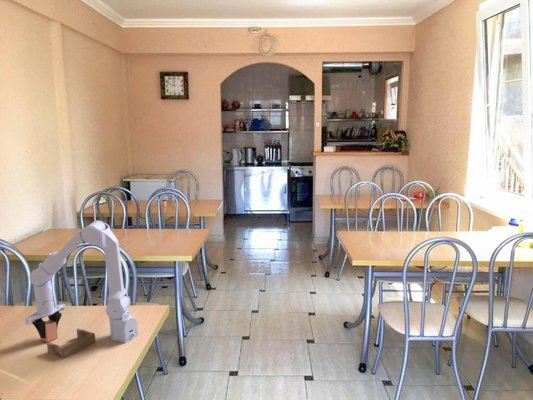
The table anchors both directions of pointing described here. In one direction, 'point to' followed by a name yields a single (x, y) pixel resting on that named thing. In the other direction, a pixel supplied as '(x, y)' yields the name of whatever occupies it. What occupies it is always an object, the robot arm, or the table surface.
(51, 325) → the block
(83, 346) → the box
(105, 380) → the table surface
